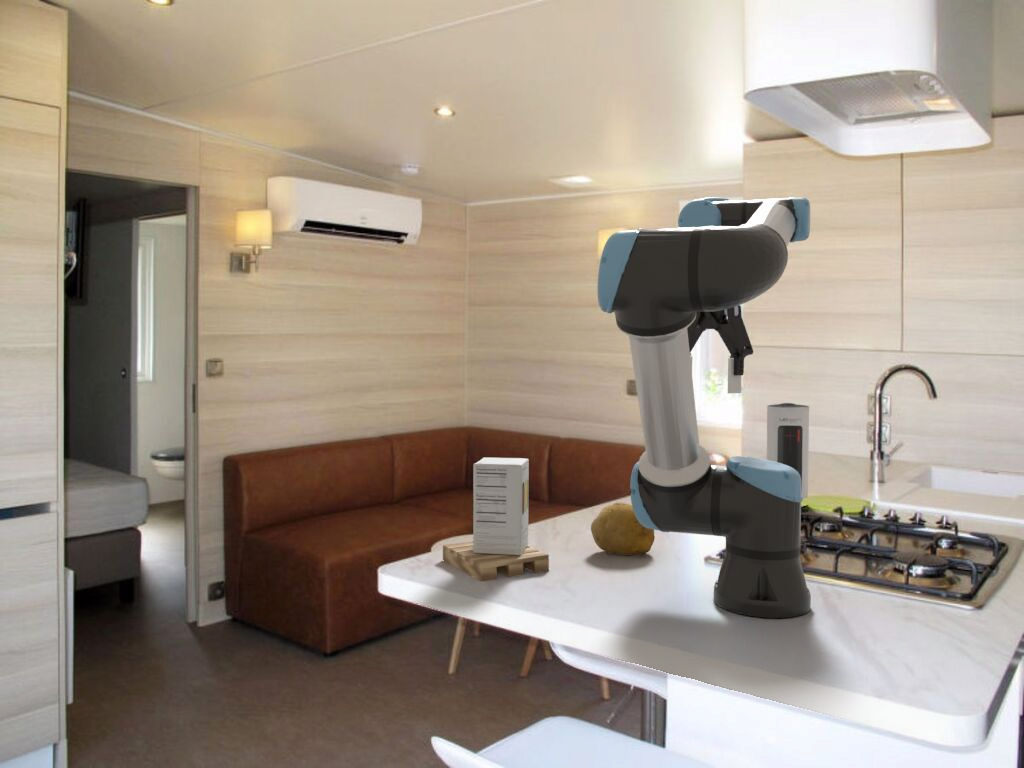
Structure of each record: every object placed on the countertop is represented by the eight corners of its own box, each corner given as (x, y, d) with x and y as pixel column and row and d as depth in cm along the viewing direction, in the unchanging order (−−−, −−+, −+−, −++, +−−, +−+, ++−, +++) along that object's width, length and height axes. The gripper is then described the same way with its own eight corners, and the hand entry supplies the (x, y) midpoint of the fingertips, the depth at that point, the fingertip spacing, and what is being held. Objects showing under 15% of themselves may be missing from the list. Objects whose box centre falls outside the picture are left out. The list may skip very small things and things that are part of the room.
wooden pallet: (548, 570, 158) (548, 554, 158) (481, 581, 151) (481, 564, 151) (506, 551, 172) (506, 536, 171) (442, 560, 165) (442, 545, 164)
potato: (653, 561, 165) (654, 510, 164) (588, 557, 167) (589, 507, 167) (655, 548, 175) (655, 500, 174) (594, 545, 177) (594, 497, 177)
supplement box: (521, 556, 156) (522, 464, 155) (472, 554, 158) (472, 463, 157) (529, 543, 166) (529, 457, 165) (482, 541, 167) (482, 456, 166)
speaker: (762, 506, 218) (764, 404, 217) (767, 499, 228) (769, 401, 226) (806, 509, 214) (809, 405, 212) (809, 502, 224) (811, 402, 222)
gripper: (774, 277, 155) (771, 394, 157) (682, 284, 177) (680, 386, 178) (744, 276, 152) (741, 395, 153) (654, 283, 173) (652, 387, 175)
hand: (709, 391), depth 166 cm, fingers open, 13 cm apart
